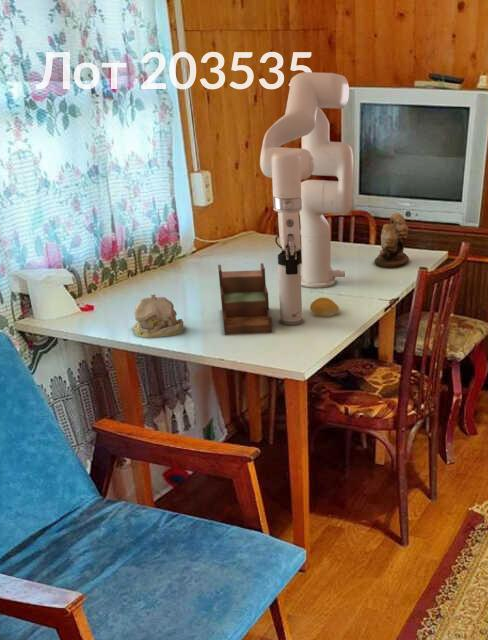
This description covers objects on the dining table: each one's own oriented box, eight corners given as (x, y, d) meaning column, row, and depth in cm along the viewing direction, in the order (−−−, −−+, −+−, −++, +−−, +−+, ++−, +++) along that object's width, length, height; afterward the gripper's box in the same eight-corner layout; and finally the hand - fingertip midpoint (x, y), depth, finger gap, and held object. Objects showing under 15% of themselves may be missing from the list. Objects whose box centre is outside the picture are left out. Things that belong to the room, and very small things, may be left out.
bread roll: (316, 318, 217) (316, 305, 214) (307, 309, 224) (307, 296, 221) (343, 316, 219) (343, 302, 217) (333, 306, 226) (333, 293, 224)
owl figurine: (383, 254, 279) (384, 206, 270) (413, 257, 276) (416, 209, 267) (369, 266, 265) (370, 216, 255) (401, 270, 262) (403, 219, 252)
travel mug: (299, 326, 211) (297, 254, 200) (277, 324, 212) (274, 252, 201) (305, 319, 216) (304, 248, 205) (284, 317, 217) (281, 247, 206)
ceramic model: (130, 338, 200) (124, 302, 194) (134, 324, 209) (128, 289, 204) (183, 336, 202) (179, 300, 197) (185, 322, 211) (180, 287, 206)
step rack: (265, 308, 223) (263, 263, 216) (271, 332, 206) (269, 283, 199) (222, 310, 221) (218, 264, 214) (224, 334, 204) (220, 285, 196)
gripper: (305, 210, 190) (307, 277, 199) (297, 197, 204) (299, 261, 213) (276, 210, 188) (279, 278, 198) (270, 198, 203) (273, 262, 212)
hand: (289, 269), depth 205 cm, fingers open, 9 cm apart
